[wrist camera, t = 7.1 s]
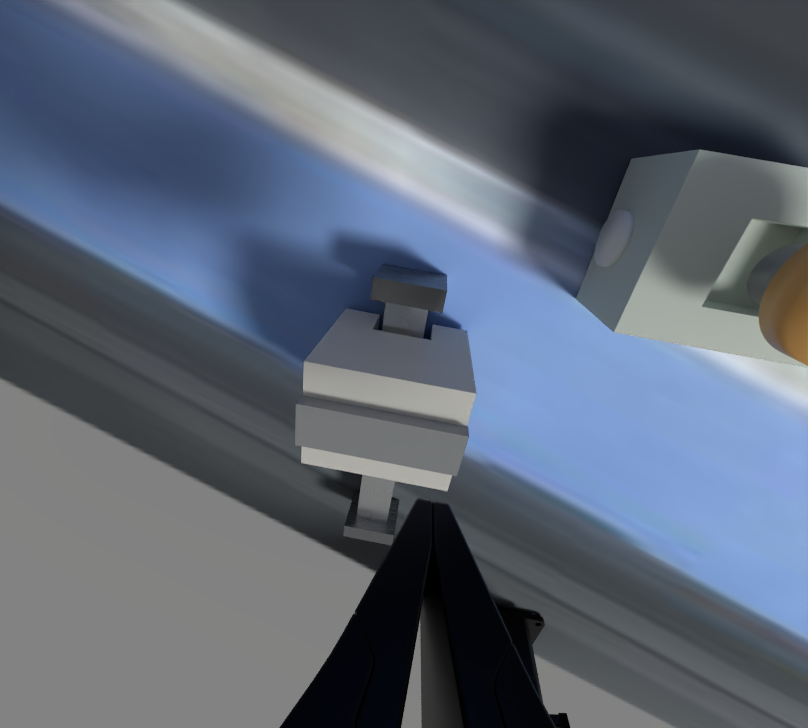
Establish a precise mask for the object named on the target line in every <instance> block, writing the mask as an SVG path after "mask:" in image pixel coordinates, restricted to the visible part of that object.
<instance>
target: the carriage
mask: <svg viewBox="0 0 808 728" xmlns="http://www.w3.org/2000/svg"><path fill="white" fill-rule="evenodd" d="M379 318H380V315H379V314H374V313H369V312H363V311H358V310H352V309H347V308H346V309H345V310H344V312H343V313H342V314H341V315H340V317H339V318H338V319H337V320H336V322H335V323H334V324H333V325H332V327H331V328H330V329H329V330H328V332H327V333H326V334H325V335H324V337H323V338H322V339H321V340H320V342H319V343H318V344H317V345H316V347H315V348H314V349H313V350H312V352H311V353H310V354H309V355H308V357H307V358H306V359H305V360H304V374H303V395H301V397H300V398H299V400H298V401H297V403H296V430H295V445H298V446H302V454H301V463H305V464H310V465H315V466H320V467H326V468H331V469H336V470H341V471H346V472H351V473H356V474H362V475H367V476H372V477H377V478H382V479H387V480H392V481H398V482H403V483H408V484H413V485H418V486H423V487H428V488H434V489H439V490H444V491H448V487H449V484H450V481H451V477H452V475H453V476H457V474H458V471H459V467H460V464H461V461H462V458H463V454H464V451H465V448H466V445H467V441H468V438H469V433H468V427H467V424H468V420H469V417H470V414H471V410H472V407H473V404H474V400H475V397H476V388H475V381H474V374H473V367H472V361H471V354H470V347H469V340H468V334H467V331H466V330H461V329H455V328H450V327H444V326H439V325H434V324H433V326H432V331H431V336H430V340H427V339H422V338H417V337H411V336H406V335H400V334H395V333H390V332H384V331H379V330H378V325H379Z"/></svg>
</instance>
